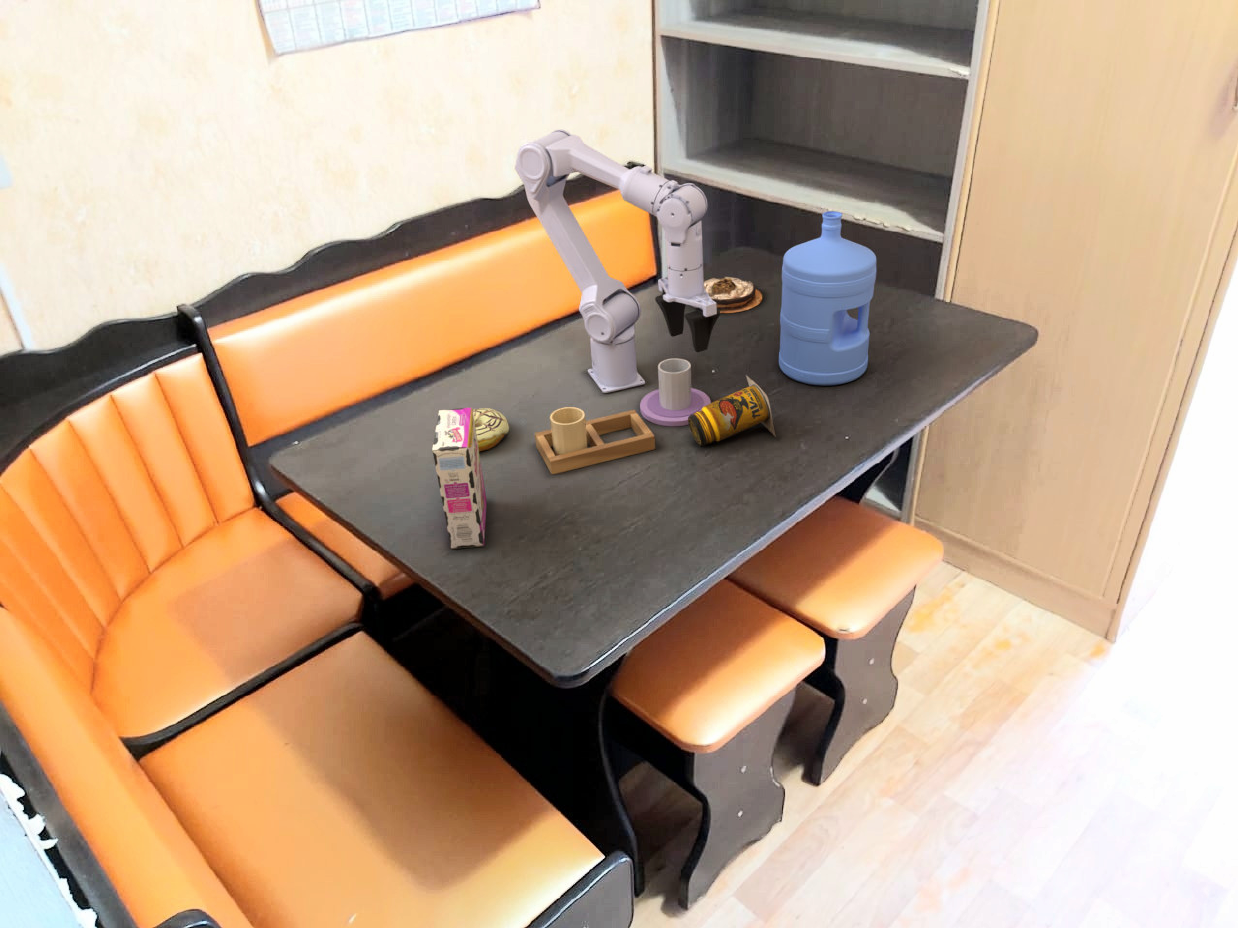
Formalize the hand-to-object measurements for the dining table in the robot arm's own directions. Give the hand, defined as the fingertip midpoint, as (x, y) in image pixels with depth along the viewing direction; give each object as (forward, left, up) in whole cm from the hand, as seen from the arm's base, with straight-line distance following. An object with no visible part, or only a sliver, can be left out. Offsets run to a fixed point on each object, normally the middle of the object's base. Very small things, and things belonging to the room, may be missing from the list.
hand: (688, 342), depth 154 cm
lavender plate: (+3, -4, -10) cm, 11 cm away
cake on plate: (-35, +24, -11) cm, 44 cm away
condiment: (+15, +6, -6) cm, 17 cm away
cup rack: (+9, -20, -10) cm, 24 cm away
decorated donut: (-2, -37, -11) cm, 39 cm away
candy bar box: (+21, -43, -11) cm, 49 cm away
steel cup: (+3, -4, -9) cm, 10 cm away
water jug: (+1, +26, -11) cm, 28 cm away
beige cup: (+9, -24, -10) cm, 28 cm away
